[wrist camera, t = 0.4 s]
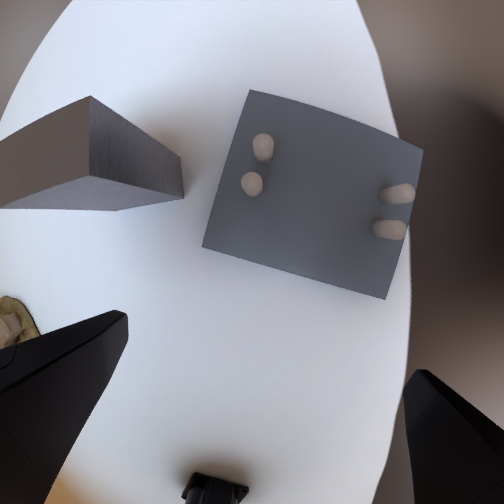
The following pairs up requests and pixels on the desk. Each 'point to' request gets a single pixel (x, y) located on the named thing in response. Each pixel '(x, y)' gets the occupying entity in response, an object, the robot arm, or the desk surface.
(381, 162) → the grey pegged stand
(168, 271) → the desk surface
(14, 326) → the ceramic model
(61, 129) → the block
